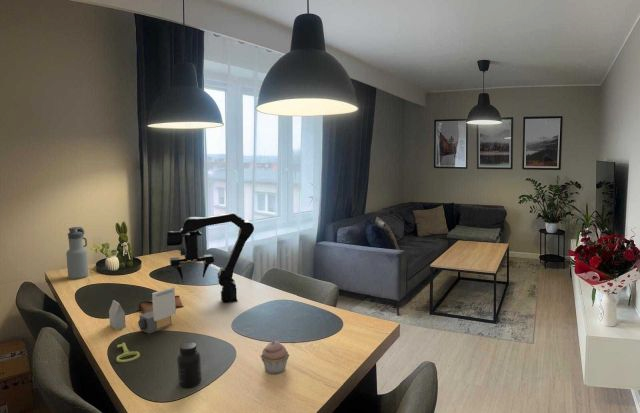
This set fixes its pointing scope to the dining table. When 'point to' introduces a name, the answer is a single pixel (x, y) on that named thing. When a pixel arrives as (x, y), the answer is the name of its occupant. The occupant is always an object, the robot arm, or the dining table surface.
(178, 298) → the sunglasses case
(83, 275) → the water bottle
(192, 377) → the supplement bottle
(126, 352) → the key
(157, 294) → the side door
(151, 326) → the grey rectangular block
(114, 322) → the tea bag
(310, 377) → the dining table surface
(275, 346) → the cupcake
